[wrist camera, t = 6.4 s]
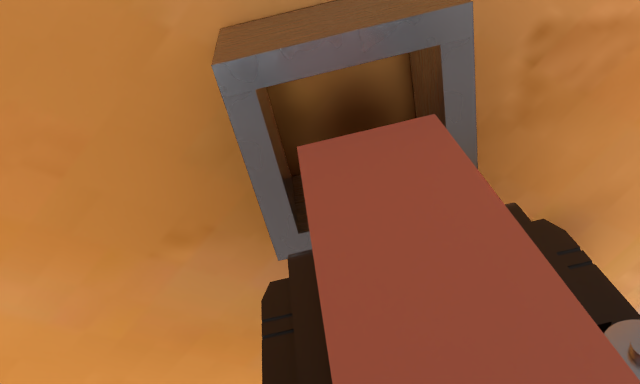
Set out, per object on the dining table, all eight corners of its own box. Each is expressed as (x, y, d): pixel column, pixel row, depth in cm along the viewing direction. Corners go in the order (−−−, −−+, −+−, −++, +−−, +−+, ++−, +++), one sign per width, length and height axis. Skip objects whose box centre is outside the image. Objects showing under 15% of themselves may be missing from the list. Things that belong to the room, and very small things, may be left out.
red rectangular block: (296, 147, 13) (393, 786, 4) (434, 113, 13) (873, 684, 4) (324, 251, 15) (430, 830, 6) (443, 224, 15) (740, 766, 6)
